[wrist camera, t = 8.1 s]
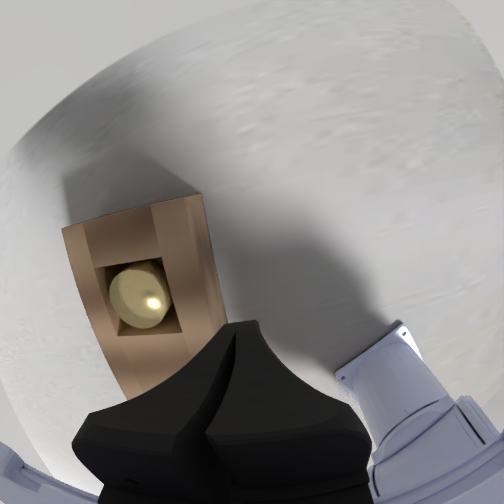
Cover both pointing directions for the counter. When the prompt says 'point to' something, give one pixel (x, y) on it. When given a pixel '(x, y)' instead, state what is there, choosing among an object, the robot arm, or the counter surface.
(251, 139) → the counter surface
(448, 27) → the counter surface
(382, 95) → the counter surface
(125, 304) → the peg
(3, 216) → the counter surface
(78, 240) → the block
